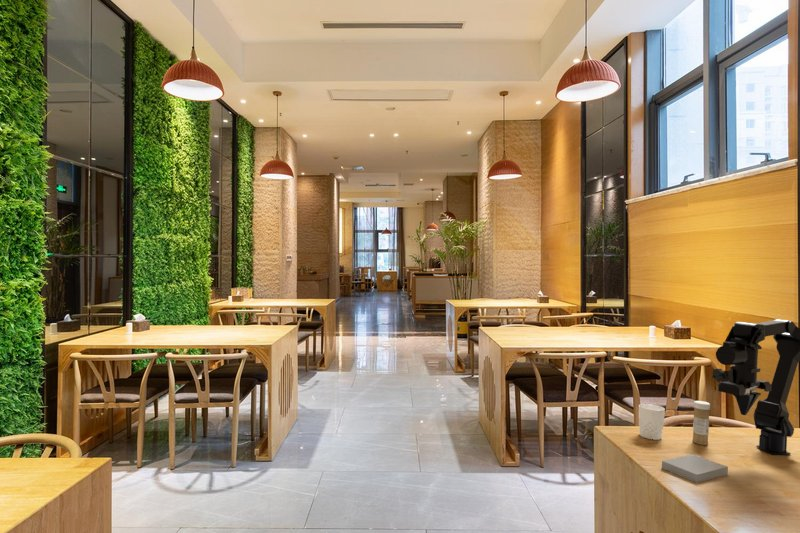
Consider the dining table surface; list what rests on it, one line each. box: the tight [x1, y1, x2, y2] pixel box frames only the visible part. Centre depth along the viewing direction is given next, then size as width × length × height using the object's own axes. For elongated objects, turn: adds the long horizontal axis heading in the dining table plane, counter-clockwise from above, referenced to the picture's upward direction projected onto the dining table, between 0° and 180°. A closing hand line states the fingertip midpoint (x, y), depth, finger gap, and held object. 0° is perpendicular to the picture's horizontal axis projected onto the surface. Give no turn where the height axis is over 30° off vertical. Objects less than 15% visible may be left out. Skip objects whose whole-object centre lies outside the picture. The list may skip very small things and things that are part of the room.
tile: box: [661, 453, 729, 484], centre depth 140 cm, size 3×10×14 cm
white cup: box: [638, 403, 666, 441], centre depth 169 cm, size 8×8×10 cm
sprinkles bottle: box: [691, 400, 711, 446], centre depth 164 cm, size 5×5×14 cm
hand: (743, 414), depth 152 cm, fingers closed
